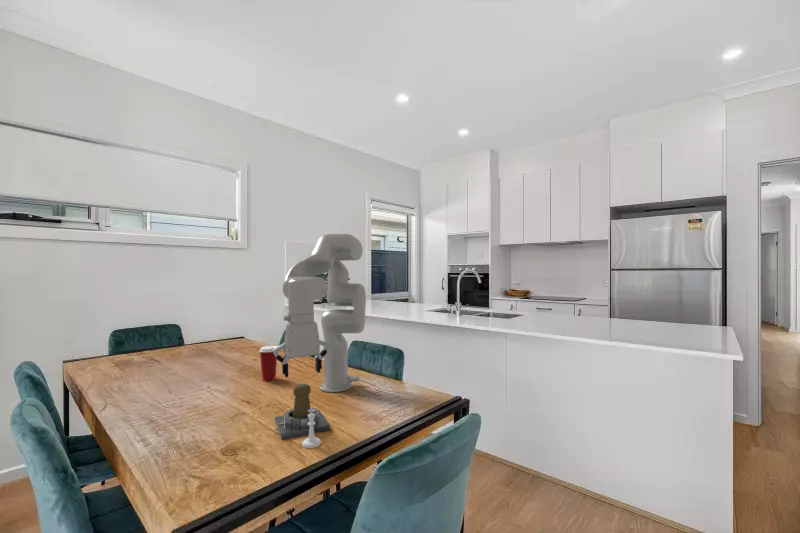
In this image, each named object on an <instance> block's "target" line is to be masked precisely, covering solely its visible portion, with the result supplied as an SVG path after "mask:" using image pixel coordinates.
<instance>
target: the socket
mask: <svg viewBox="0 0 800 533" xmlns="http://www.w3.org/2000/svg"><path fill="white" fill-rule="evenodd" d="M311 407H312V406H310V408H311ZM314 409H315V411H314V412H312V413H314V414H315V417H314V422H315V423H316V424H315V425H313V427H314V434H317V433H322V432H328V431H331V424H330V423H329V421H328V419H326V417H325V416H324V414H323V413H322V411H321V410H320V409H318V408H315V407H312V410H314ZM293 410H294V408H291V409H288V410H287V411H286V412H285V413H284V414H283V415H280V416H279V415H278V416H274V423H275V426H276V429H277V430H278V433H279V436H280V438H281V440H286V439H292V438H296V437H301V436H307V435H309V429H310V425H308V422H310V421H309V418H308V417H304V418H293Z"/></svg>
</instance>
